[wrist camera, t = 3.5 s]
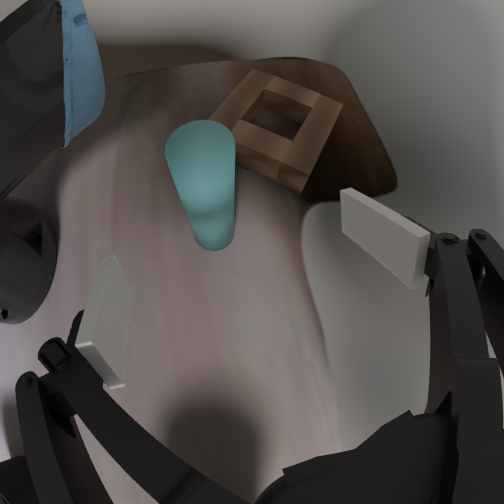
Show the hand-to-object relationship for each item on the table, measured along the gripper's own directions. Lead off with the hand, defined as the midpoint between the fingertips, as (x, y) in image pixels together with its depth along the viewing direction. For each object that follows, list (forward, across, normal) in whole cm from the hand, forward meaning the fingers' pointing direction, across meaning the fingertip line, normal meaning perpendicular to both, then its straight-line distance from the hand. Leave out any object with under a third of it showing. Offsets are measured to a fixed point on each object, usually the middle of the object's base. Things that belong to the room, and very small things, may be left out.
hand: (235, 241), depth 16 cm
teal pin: (+12, 0, -5) cm, 13 cm away
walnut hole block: (+20, +9, +2) cm, 22 cm away
